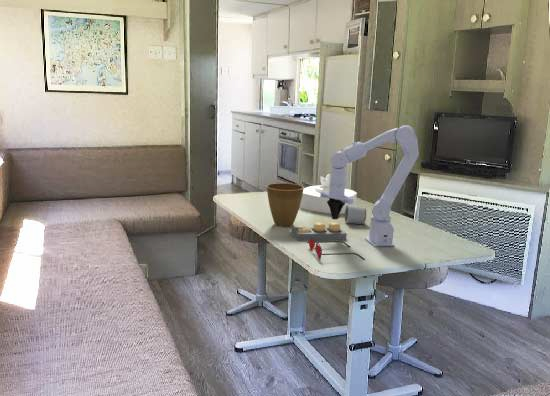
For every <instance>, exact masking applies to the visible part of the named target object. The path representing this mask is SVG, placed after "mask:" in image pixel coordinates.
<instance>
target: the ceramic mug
mask: <svg viewBox="0 0 550 396" xmlns="http://www.w3.org/2000/svg"><path fill="white" fill-rule="evenodd" d="M366 219H367V209H366V208H365V207H363V206H358V205H356V206H350V205H347V206H346V209H345V213H344V223H345V224H349V225H350V224H354V225H362V224H365V222H366Z"/></svg>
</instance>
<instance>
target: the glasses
mask: <svg viewBox="0 0 550 396" xmlns="http://www.w3.org/2000/svg"><path fill="white" fill-rule="evenodd" d="M311 238H312V237H311ZM311 238H310V240H307V241H306V243H307V244H308V246H309V250H310V251H313V250H315V252H316V253H315V254H316V255H317V258H318V261H320V260H321V259H322V256H330V255H331V256H333V255H334V256H335V255H339V256H340V255H356V256H358V257H359V258H360V259H362V260H364V261H365V260H366V258H364V257H362V256H361V255H360V254H358V253H355V252H349V253H348V252H347V253H346V252H342V253H339V252H338V253H323V248H322V246H321V245H320V244H321V243H343V245H345V246H347V247H348V248H351V246H350V245H349V244H348V243H346V241H345V242H344V241H341V240H340V241H339V240H323V241H317V240H314V239H313V238H312V239H311ZM319 243H320V244H319Z"/></svg>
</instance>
